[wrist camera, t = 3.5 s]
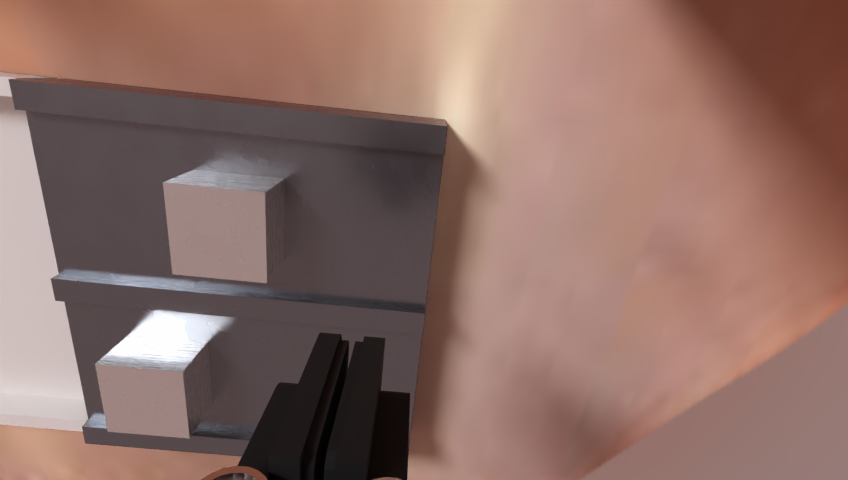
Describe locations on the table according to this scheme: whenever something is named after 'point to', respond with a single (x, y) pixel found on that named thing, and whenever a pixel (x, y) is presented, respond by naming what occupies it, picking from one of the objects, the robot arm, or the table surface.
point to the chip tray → (31, 291)
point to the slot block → (220, 298)
